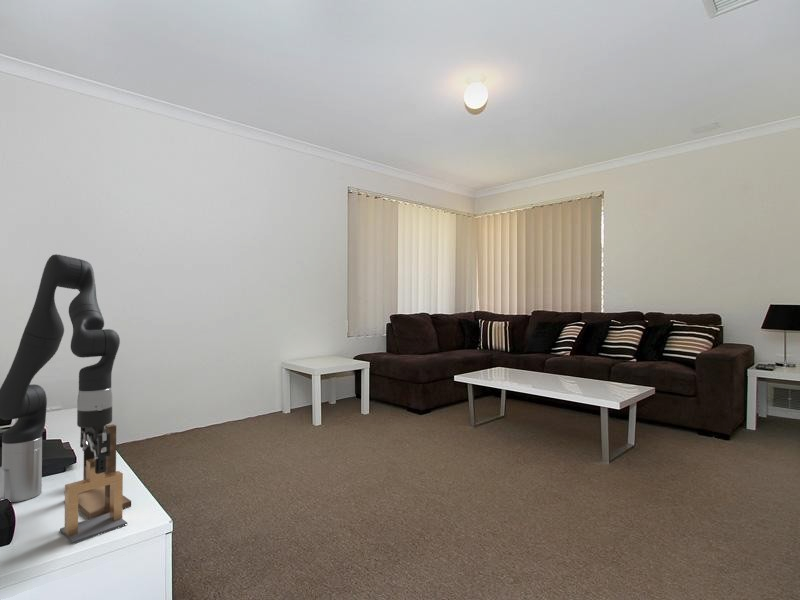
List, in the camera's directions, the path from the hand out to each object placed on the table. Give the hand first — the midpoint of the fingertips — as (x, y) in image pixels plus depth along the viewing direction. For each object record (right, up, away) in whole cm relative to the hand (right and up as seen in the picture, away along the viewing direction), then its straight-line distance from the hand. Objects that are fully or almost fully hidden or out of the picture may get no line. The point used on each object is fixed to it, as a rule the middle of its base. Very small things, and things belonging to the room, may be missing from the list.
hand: (94, 468), depth 115 cm
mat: (0, -15, 0) cm, 15 cm away
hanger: (0, -15, 0) cm, 15 cm away
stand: (-9, -15, +15) cm, 23 cm away
